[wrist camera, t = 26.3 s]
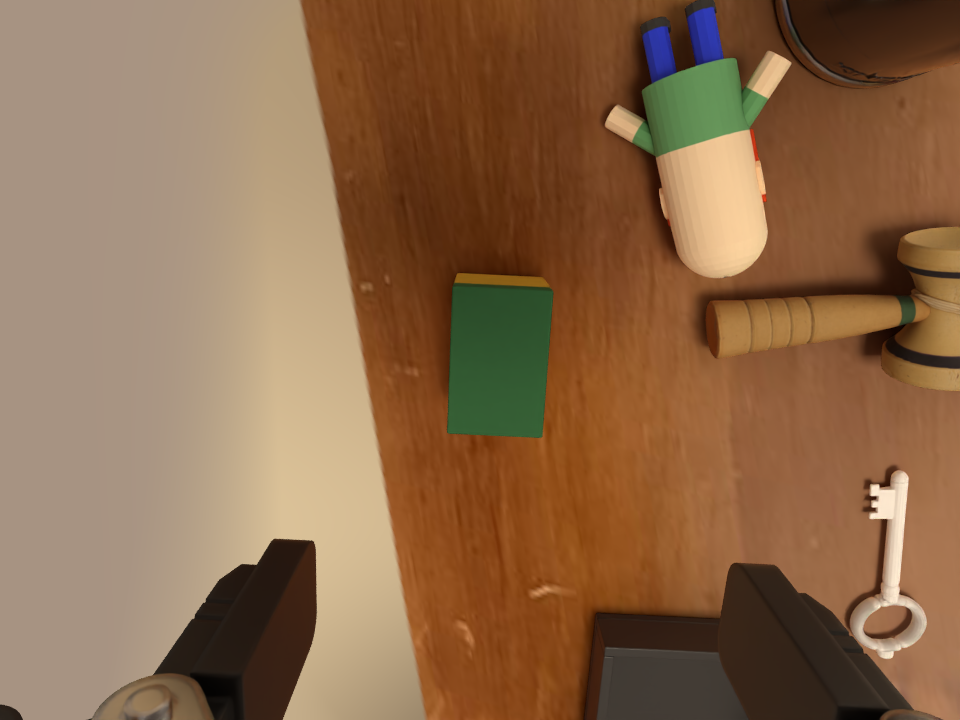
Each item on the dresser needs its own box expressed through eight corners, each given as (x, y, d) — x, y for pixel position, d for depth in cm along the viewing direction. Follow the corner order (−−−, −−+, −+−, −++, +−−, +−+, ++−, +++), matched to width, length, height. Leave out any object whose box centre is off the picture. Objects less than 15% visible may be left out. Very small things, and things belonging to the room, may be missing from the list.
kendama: (706, 398, 36) (1071, 364, 32) (730, 419, 29) (1185, 379, 26) (692, 262, 35) (1061, 213, 32) (714, 253, 29) (1176, 191, 26)
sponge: (456, 272, 33) (452, 285, 28) (543, 276, 33) (553, 290, 28) (452, 400, 34) (446, 434, 30) (534, 404, 34) (542, 438, 30)
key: (844, 653, 38) (915, 649, 38) (853, 663, 37) (926, 660, 37) (857, 469, 35) (934, 464, 35) (866, 477, 34) (946, 472, 34)
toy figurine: (601, 55, 32) (653, 285, 34) (574, 42, 28) (634, 302, 30) (778, -16, 28) (823, 249, 30) (774, -43, 24) (826, 264, 26)
